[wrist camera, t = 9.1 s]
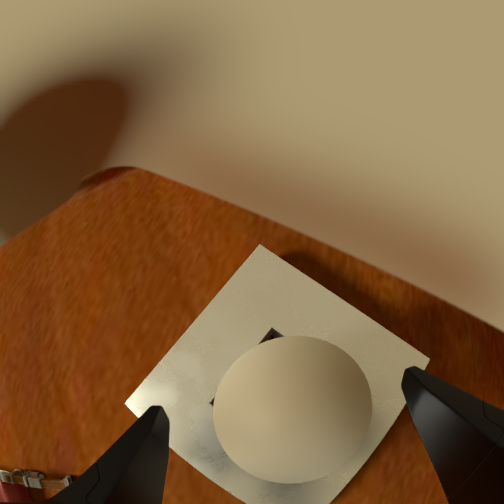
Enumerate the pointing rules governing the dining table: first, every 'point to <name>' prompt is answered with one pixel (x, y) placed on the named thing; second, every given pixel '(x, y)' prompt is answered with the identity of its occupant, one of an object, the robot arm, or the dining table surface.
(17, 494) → the hardcover book
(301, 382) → the ball
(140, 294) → the dining table surface
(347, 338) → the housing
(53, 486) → the wooden post with brackets
